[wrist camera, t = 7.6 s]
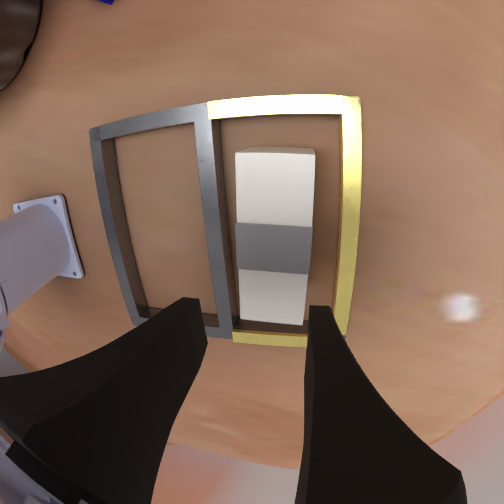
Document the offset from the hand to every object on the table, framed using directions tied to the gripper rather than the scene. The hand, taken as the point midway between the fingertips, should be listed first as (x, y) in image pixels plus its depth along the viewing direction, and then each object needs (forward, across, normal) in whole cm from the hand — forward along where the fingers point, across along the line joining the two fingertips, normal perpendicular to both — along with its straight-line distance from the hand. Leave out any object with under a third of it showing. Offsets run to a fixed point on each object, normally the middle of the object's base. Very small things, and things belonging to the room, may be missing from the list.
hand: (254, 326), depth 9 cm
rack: (+9, +4, 0) cm, 10 cm away
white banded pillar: (+10, 0, -1) cm, 10 cm away
